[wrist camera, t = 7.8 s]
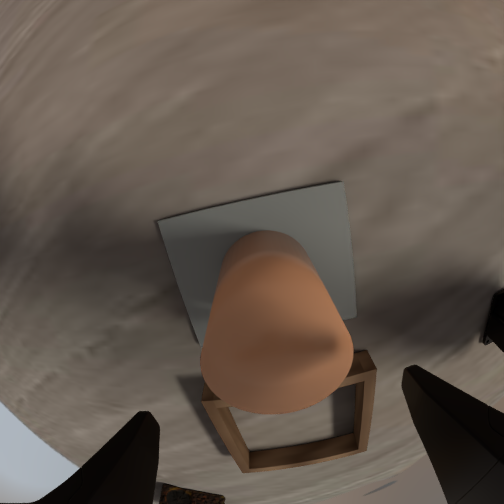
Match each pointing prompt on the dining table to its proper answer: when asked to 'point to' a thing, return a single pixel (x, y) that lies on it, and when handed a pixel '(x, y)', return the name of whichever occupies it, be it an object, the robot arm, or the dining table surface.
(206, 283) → the pad
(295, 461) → the wooden picture frame
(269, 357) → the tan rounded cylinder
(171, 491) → the candle
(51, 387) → the dining table surface
